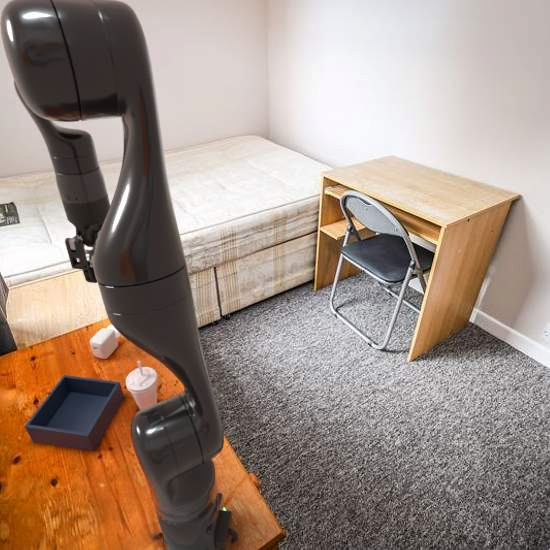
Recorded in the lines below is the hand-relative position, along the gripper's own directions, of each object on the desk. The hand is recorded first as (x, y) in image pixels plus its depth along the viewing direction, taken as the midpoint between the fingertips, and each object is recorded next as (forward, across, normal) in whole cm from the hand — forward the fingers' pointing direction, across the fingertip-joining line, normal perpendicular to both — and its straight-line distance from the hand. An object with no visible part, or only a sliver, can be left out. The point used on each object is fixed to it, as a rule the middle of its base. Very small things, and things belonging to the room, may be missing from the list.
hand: (104, 269), depth 77 cm
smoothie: (+30, -9, -8) cm, 33 cm away
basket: (+30, -14, +5) cm, 34 cm away
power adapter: (+30, +8, +9) cm, 33 cm away
